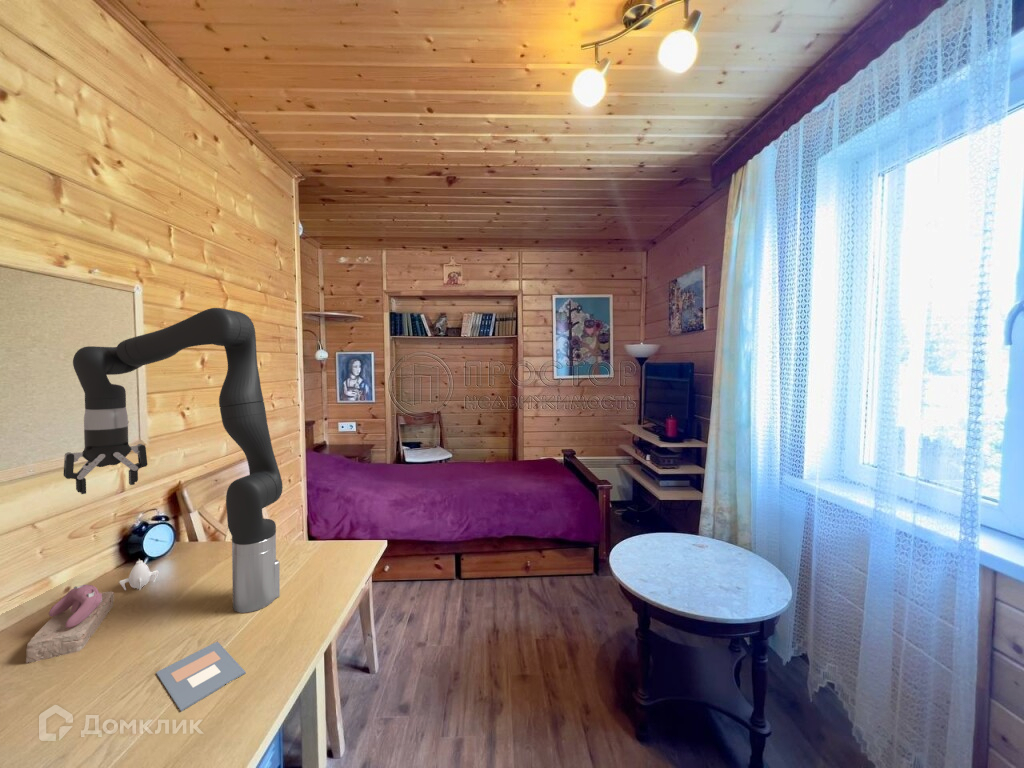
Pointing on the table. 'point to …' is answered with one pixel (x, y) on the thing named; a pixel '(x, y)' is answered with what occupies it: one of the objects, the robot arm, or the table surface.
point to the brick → (66, 633)
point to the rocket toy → (139, 576)
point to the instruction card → (199, 675)
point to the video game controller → (78, 604)
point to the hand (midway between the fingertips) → (108, 488)
